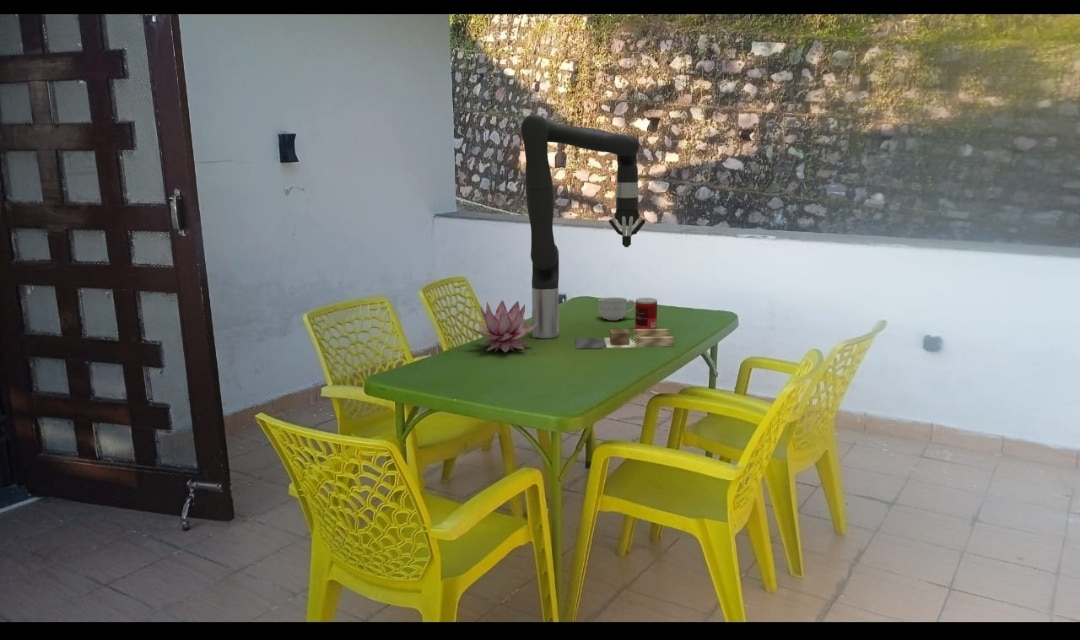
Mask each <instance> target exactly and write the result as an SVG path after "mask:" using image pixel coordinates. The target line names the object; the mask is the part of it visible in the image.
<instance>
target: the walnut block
mask: <svg viewBox="0 0 1080 640" xmlns="http://www.w3.org/2000/svg"><path fill="white" fill-rule="evenodd" d="M629 337H630V331H629V329H628V328H610V329H609V338H610V343H611V345H629Z"/></svg>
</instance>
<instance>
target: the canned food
mask: <svg viewBox="0 0 1080 640" xmlns="http://www.w3.org/2000/svg"><path fill="white" fill-rule="evenodd" d="M635 304H636V306H635V308H634V309H635V313H634V315H635V322H634V324H635V325H634V328H635V329H658V328H657V326H658V299H656V298H654V297H653V298H652V297H640V298H637V299H635Z"/></svg>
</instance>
